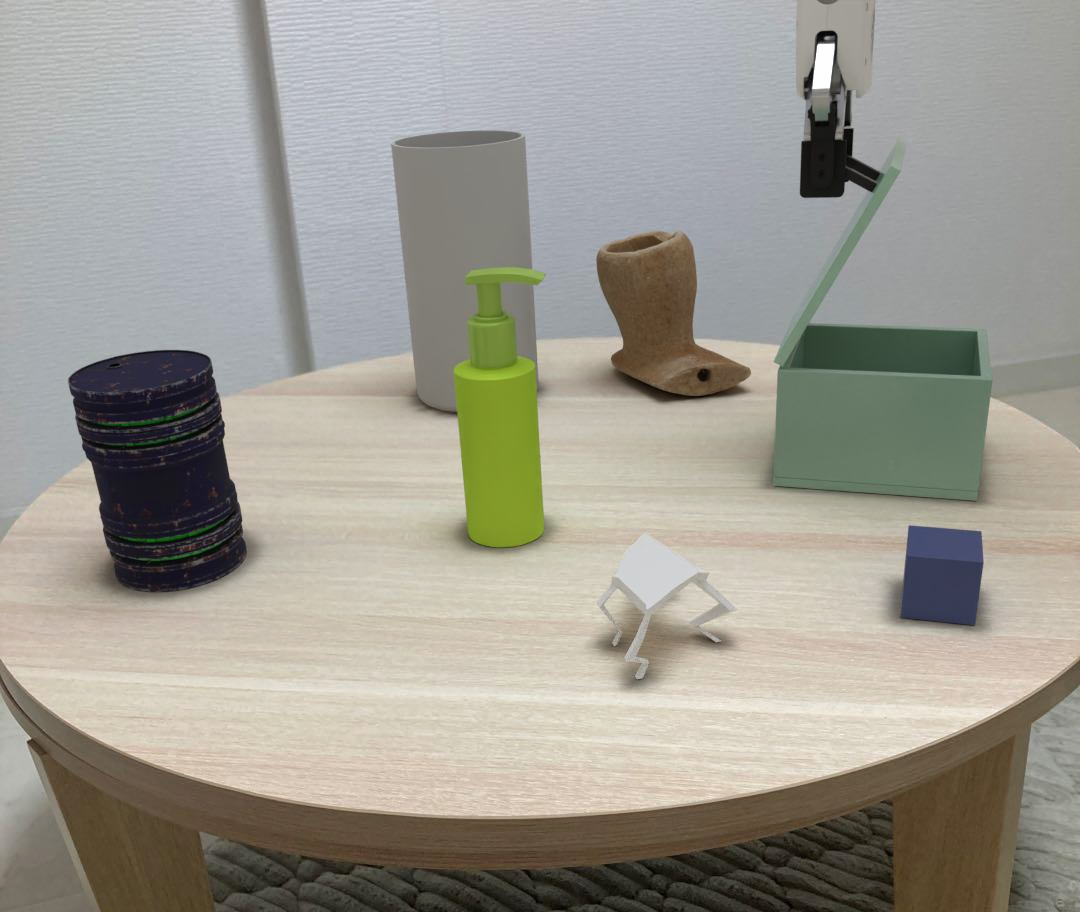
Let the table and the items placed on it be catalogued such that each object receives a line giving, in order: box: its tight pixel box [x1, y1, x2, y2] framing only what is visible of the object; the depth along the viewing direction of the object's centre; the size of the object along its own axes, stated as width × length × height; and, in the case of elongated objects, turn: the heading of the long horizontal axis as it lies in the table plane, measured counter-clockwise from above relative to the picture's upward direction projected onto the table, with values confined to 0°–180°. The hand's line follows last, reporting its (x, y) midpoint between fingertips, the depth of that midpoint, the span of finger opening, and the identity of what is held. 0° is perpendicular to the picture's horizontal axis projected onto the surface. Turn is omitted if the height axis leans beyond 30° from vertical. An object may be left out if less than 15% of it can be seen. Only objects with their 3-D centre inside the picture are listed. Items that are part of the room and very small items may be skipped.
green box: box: [772, 322, 993, 502], centre depth 94 cm, size 16×14×10 cm
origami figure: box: [596, 531, 739, 680], centre depth 72 cm, size 12×8×5 cm
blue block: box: [900, 524, 984, 626], centre depth 73 cm, size 4×4×4 cm
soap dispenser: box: [454, 267, 547, 548], centre depth 83 cm, size 6×7×20 cm
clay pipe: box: [595, 230, 752, 397], centre depth 114 cm, size 15×12×15 cm
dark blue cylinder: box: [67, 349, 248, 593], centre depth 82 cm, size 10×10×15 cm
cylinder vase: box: [390, 129, 540, 413], centre depth 112 cm, size 12×12×25 cm
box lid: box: [773, 139, 907, 367], centre depth 90 cm, size 16×14×6 cm
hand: (826, 186), depth 88 cm, fingers closed on box lid, 6 cm apart
